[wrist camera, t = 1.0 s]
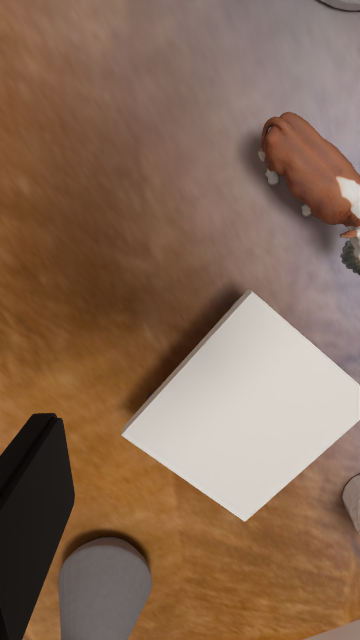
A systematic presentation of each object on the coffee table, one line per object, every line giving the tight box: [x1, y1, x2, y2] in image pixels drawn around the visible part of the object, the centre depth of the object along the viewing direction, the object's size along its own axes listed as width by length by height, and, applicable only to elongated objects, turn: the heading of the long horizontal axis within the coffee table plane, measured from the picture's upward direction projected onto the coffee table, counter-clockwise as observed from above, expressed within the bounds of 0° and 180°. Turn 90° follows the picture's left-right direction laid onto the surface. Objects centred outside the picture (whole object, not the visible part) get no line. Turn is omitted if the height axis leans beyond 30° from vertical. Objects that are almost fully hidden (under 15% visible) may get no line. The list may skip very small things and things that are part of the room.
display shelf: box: [121, 289, 360, 521], centre depth 33 cm, size 18×16×6 cm
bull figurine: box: [258, 112, 360, 260], centre depth 27 cm, size 4×13×8 cm, turn 43°
